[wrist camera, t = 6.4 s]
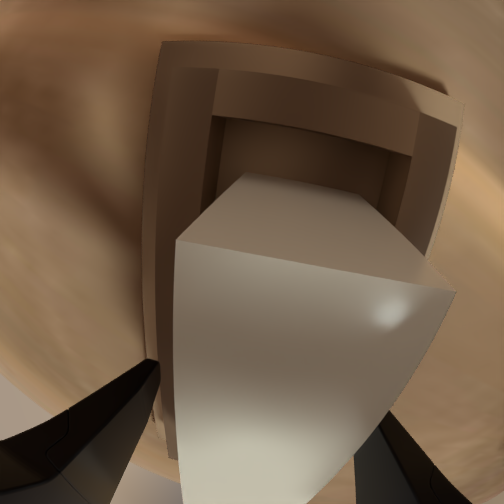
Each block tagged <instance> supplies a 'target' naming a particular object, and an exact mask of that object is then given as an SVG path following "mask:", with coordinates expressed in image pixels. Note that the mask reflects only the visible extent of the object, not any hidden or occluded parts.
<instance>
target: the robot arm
mask: <svg viewBox="0 0 504 504" xmlns="http://www.w3.org/2000/svg"><path fill="white" fill-rule="evenodd" d="M160 382H161V371H160V363H159V361H157V360H153V359H150V358H147V359H145V360H143V361H142V362H140V363H139V364H137V365H136V366H134V367H133V368H131V369H130V370H128V371H127V372H125V373H123V374H122V375H120V376H119V377H117V378H116V379H114V380H113V381H111V382H109V383H108V384H106V385H105V386H103V387H102V388H100V389H99V390H97V391H95V392H94V393H92V394H91V395H89V396H87V397H86V398H84V399H83V400H81V401H80V402H78V403H76V404H75V405H73V406H71V407H70V408H69V410H68V409H67V410H65V411H63V412H62V413H60V414H58V415H57V416H55V417H53V418H51V419H50V420H48V421H46V422H44V423H42V424H40V425H38V426H36V427H33V428H31V429H29V430H26V431H24V432H22V433H19V434H17V435H15V436H12V437H10V438H7V439H5V440H1V441H0V504H110V502H111V500H112V498H113V495H114V493H115V491H116V489H117V486H118V484H119V482H120V480H121V478H122V476H123V473H124V471H125V469H126V467H127V465H128V463H129V461H130V458H131V456H132V454H133V452H134V450H135V448H136V446H137V443H138V441H139V439H140V437H141V435H142V433H143V431H144V429H145V426H146V424H147V422H148V419H149V416H150V413H151V410H152V407H153V404H154V401H155V398H156V395H157V392H158V389H159V386H160ZM354 468H355V486H356V504H472V503H471V502H470V501H469V500H468V499H467V498H466V497H465V496H464V495H463V494H462V493H460V492H459V491H458V490H457V489H456V488H455V487H454V486H453V485H452V484H451V483H450V482H449V481H448V479H447V478H446V477H445V476H444V475H443V474H442V473H441V471H440V470H439V469H438V468H437V467H436V465H434V463H433V462H432V461H431V460H430V458H429V457H428V456H427V455H426V454H425V452H424V451H423V450H422V449H421V448H420V446H419V445H418V444H417V443H416V442H415V440H414V439H413V438H412V437H411V436H410V434H409V433H408V432H407V431H406V430H405V428H404V427H403V426H402V425H401V424H400V422H399V421H398V420H397V419H396V418H395V416H394V415H393V414H392V413H391V412H390V410H389V411H388V412H387V414H386V415H385V416H384V418H383V419H382V420H381V422H380V423H379V424H378V426H377V427H376V428H375V429H374V431H373V432H372V433H371V435H370V436H369V437H368V438H367V440H366V441H365V442H364V443H363V444H362V446H361V447H360V448H359V449H358V450H357V452H356V453H355V454H354Z"/></svg>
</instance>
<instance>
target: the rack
mask: <svg viewBox="0 0 504 504" xmlns="http://www.w3.org/2000/svg"><path fill="white" fill-rule="evenodd" d="M464 107H465V104H464V103H462V102H460V101H458V100H456V99H454V98H451V97H449V96H447V95H445V94H443V93H440V92H438V91H436V90H433V89H431V88H429V87H426V86H424V85H421V84H419V83H416V82H414V81H411V80H408V79H405V78H403V77H400V76H397V75H394V74H391V73H388V72H385V71H382V70H379V69H376V68H372V67H369V66H365V65H362V64H358V63H355V62H351V61H347V60H343V59H339V58H335V57H330V56H326V55H321V54H316V53H311V52H306V51H300V50H295V49H288V48H282V47H275V46H267V45H258V44H248V43H235V42H218V41H165V42H162V45H161V50H160V55H159V60H158V66H157V71H156V77H155V83H154V90H153V97H152V104H151V111H150V119H149V128H148V137H147V147H146V158H145V171H144V186H143V207H142V293H143V314H144V330H145V343H146V354H147V358H150V359H153V360H157V361H159V363H160V371H161V382H160V386H159V389H158V392H157V395H156V398H155V401H154V404H153V411H154V417H155V424H156V429H157V435H158V438H160V439H163V440H166V442H167V449H168V456H169V458H171V459H175V460H178V448H177V435H176V420H175V401H174V373H173V297H174V267H175V247H176V239H177V238H178V237H179V236H180V235H181V234H182V233H183V232H184V231H185V230H186V229H187V228H188V227H189V226H190V225H191V224H192V223H193V222H194V221H195V220H196V219H197V218H198V217H199V216H200V215H201V214H202V213H203V212H204V211H205V210H206V209H207V208H208V207H209V206H210V205H211V204H212V203H213V202H214V201H215V200H217V199H218V198H219V197H220V196H221V195H222V194H223V193H224V192H225V191H226V190H227V189H228V188H229V187H230V186H231V185H232V184H233V183H234V182H235V181H237V180H238V179H239V178H240V177H241V176H242V175H243V174H244V173H245V172H250V173H256V174H262V175H268V176H273V177H279V178H284V179H289V180H295V181H300V182H305V183H310V184H314V185H319V186H324V187H329V188H333V189H338V190H342V191H346V192H351V193H355V194H359V195H360V196H361V197H362V198H363V199H365V200H366V201H367V202H368V203H369V204H370V205H371V206H372V207H374V208H375V209H376V210H377V211H378V212H379V213H380V214H381V215H382V216H383V217H384V218H386V219H387V220H388V221H389V222H390V223H391V224H392V225H393V226H394V227H395V228H396V229H397V230H398V231H399V232H400V233H401V234H402V235H403V236H404V237H405V238H406V239H407V240H408V241H409V242H410V243H411V244H412V245H413V246H414V247H415V248H416V249H417V250H418V251H419V252H420V253H421V254H422V255H423V256H424V257H425V258H426V259H427V260H428V259H429V256H430V253H431V251H432V248H433V245H434V242H435V239H436V235H437V232H438V229H439V226H440V222H441V219H442V216H443V212H444V209H445V205H446V201H447V197H448V193H449V189H450V185H451V181H452V177H453V172H454V168H455V163H456V158H457V153H458V147H459V142H460V136H461V129H462V122H463V115H464Z"/></svg>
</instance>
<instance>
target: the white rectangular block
mask: <svg viewBox="0 0 504 504" xmlns="http://www.w3.org/2000/svg"><path fill="white" fill-rule="evenodd" d="M455 294H456V290H455V289H454V288H453V287H452V286H451V285H450V284H449V283H448V281H447V280H446V279H445V278H444V277H443V276H442V275H441V274H440V273H439V272H438V271H437V269H436V268H435V267H434V266H433V265H432V264H431V263H430V262H429V261H428V260H427V259H426V258H425V257H424V256H423V255H422V254H421V253H420V252H419V251H418V250H417V249H416V248H415V247H414V246H413V245H412V244H411V243H410V242H409V241H408V240H407V239H406V238H405V237H404V236H403V235H402V234H401V233H400V232H399V231H398V230H397V229H396V228H395V227H394V226H393V225H392V224H391V223H390V222H389V221H388V220H387V219H386V218H384V217H383V216H382V215H381V214H380V213H379V212H378V211H377V210H376V209H375V208H374V207H372V206H371V205H370V204H369V203H368V202H367V201H366V200H365V199H363V198H362V197H361V196H360V195H359V194H355V193H351V192H346V191H342V190H338V189H333V188H329V187H324V186H319V185H314V184H310V183H305V182H300V181H295V180H289V179H284V178H279V177H273V176H268V175H262V174H256V173H250V172H245V173H244V174H243V175H242V176H241V177H240V178H239V179H238V180H237V181H235V182H234V183H233V184H232V185H231V186H230V187H229V188H228V189H227V190H226V191H225V192H224V193H223V194H222V195H221V196H220V197H219V198H218V199H217V200H215V201H214V202H213V203H212V204H211V205H210V206H209V207H208V208H207V209H206V210H205V211H204V212H203V213H202V214H201V215H200V216H199V217H198V218H197V219H196V220H195V221H194V222H193V223H192V224H191V225H190V226H189V227H188V228H187V229H186V230H185V231H184V232H183V233H182V234H181V235H180V236H179V237H178V238H177V239H176V247H175V267H174V297H173V373H174V401H175V420H176V435H177V448H178V460H179V470H180V480H181V489H182V496H183V504H306V503H307V502H308V501H310V500H311V499H312V498H313V497H314V496H315V495H316V494H317V493H318V492H319V491H320V490H321V489H322V488H323V487H324V486H325V485H326V484H327V483H328V482H329V481H330V480H331V479H332V478H333V477H334V476H335V475H336V474H337V473H338V472H339V471H340V469H341V468H342V467H343V466H344V465H345V464H346V463H347V462H348V461H349V460H350V458H351V457H352V456H353V455H354V454H355V453H356V452H357V450H358V449H359V448H360V447H361V446H362V444H363V443H364V442H365V441H366V440H367V438H368V437H369V436H370V435H371V433H372V432H373V431H374V429H375V428H376V427H377V426H378V424H379V423H380V422H381V420H382V419H383V418H384V416H385V415H386V414H387V412H388V411H389V409H390V408H391V407H392V405H393V404H394V402H395V401H396V399H397V398H398V397H399V395H400V394H401V392H402V391H403V389H404V388H405V386H406V385H407V383H408V381H409V380H410V378H411V377H412V375H413V373H414V372H415V370H416V369H417V367H418V365H419V364H420V362H421V360H422V359H423V357H424V355H425V353H426V352H427V350H428V348H429V346H430V344H431V343H432V341H433V339H434V337H435V335H436V333H437V331H438V329H439V328H440V326H441V324H442V322H443V320H444V318H445V316H446V313H447V311H448V309H449V307H450V305H451V303H452V301H453V299H454V296H455Z"/></svg>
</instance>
